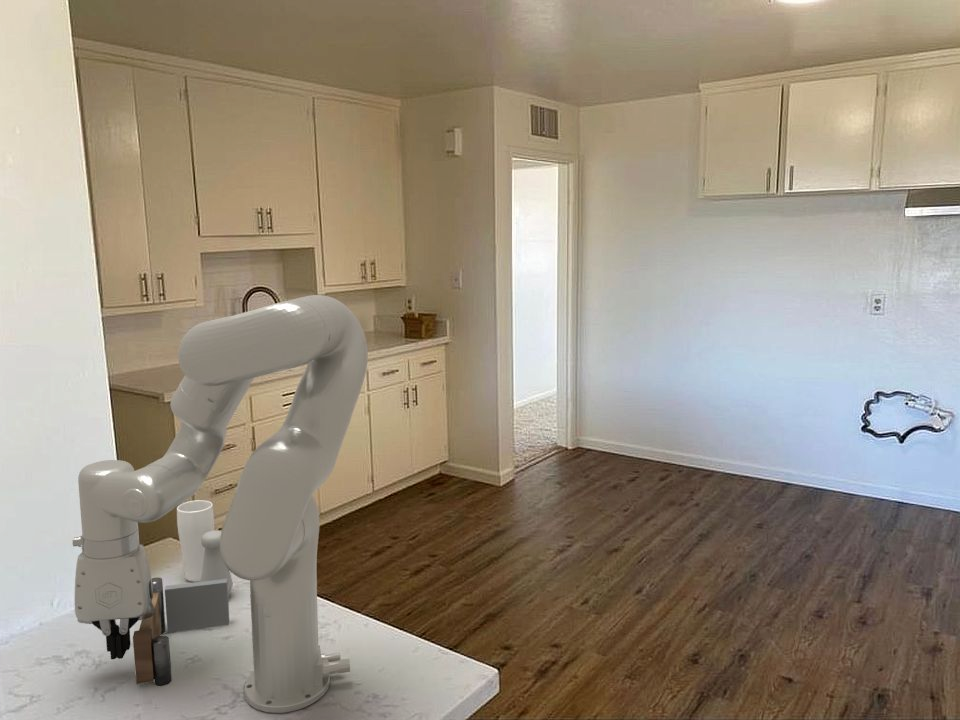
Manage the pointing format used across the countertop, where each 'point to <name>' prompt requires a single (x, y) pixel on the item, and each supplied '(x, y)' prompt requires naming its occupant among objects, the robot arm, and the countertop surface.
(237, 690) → the countertop surface
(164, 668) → the post
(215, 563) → the salt shaker
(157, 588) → the hinge post
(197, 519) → the drinking glass
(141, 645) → the gate
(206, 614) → the grey rectangular slab
